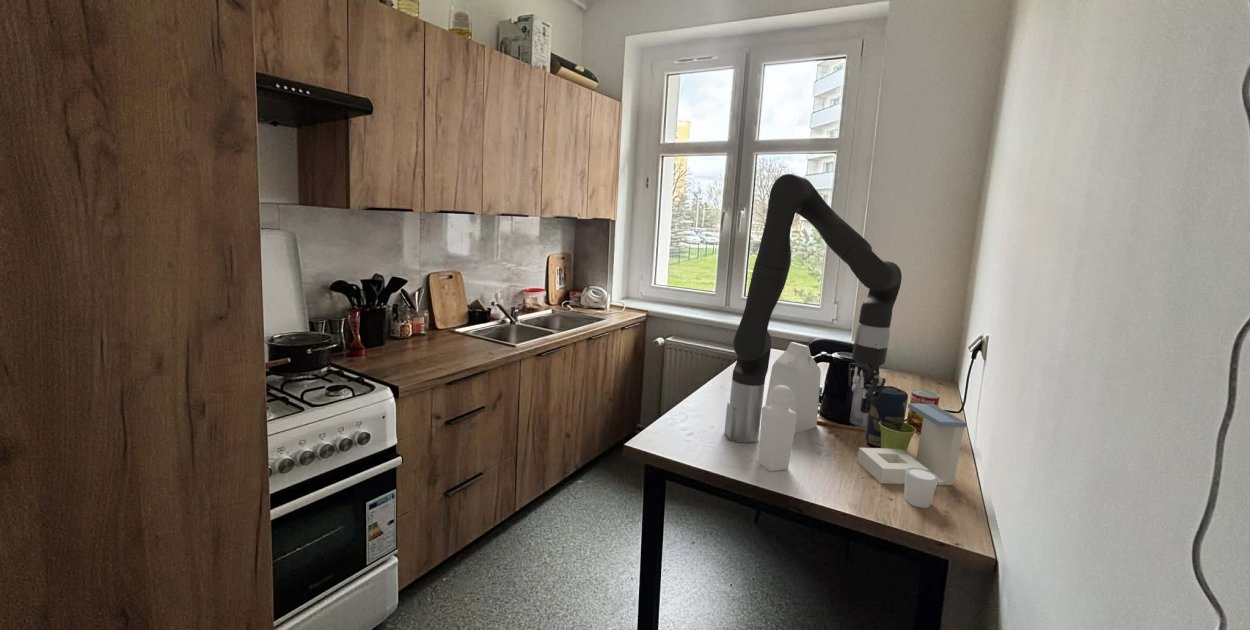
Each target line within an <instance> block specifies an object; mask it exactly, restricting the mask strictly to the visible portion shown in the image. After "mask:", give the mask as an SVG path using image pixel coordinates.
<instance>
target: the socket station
mask: <svg viewBox="0 0 1250 630" xmlns="http://www.w3.org/2000/svg"><path fill="white" fill-rule="evenodd" d="M907 408H908V409H909V408H910V409H911V410H913V411H915V412H916V413H918V414H919V415H921V416H923V417H924V418H923V424H922V429H921V433H920V437H919V441H918V446H917V451H916V452H917V453H916V458H914V457H912V456H911V455H910V454H909V453H907V452H905V451H903V450H902V449H886V448H881V447H858V453H857V460H856V463H858V464H859V465H860V466H862V468H863V469H864V470H866V471H867V472H868V473H869V474H870V475H871V476H873V478H874V479H875V480H877V482H879V483H880V484H889V485H890V484H891V485H892V484H893V485H894V484H895V485H897V484H898V485H905V473H906V469H907V468H920V469H924V470H927V471H930V472H932V473H934V474H935V475H937V477H938V483H937V486H938V485H939V486H954V483H955V482H954V481H955V477H956V472H957V467H958V461H959V456H960V452H961V447H962V440H963V436H964V431H965V428H966V427H967V421H964V420H963V419H960V418H959V417H958V416H955V415H954V414H951V413H950V412H948V411H946V410H945V409H942V408H941V407H940V406H938V407H937V406H936V405H934V404H916V403H910V402H908V403H907Z"/></svg>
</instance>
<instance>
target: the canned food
mask: <svg viewBox="0 0 1250 630" xmlns="http://www.w3.org/2000/svg"><path fill="white" fill-rule="evenodd" d="M939 402H940V395H939V394H938V393H936V392H932V391H929V390H924V389H912V390H911V393H910V399H909V403H916V404H934V405H936V406H937V407H939ZM923 418H924V417H923V416H921V415H919V414H918V413H916V412H915V411H913V410H911V409H910V408H908V411H907V417H906V422H905V423H906V424H909V425H911V426H913V427H914V428H916V432H915V433H918V432H919V434H921V429H922V424H923Z"/></svg>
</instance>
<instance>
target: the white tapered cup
mask: <svg viewBox="0 0 1250 630" xmlns="http://www.w3.org/2000/svg"><path fill="white" fill-rule="evenodd" d="M937 483H938V477H937V475H935V474H934V473H932V472H930V471H927V470H924V469H920V468H907V469H906V473H905V484H904V490H903V491H904V492H903V500H904V501H905V502H907V503H908V504H910V505H911V506H914V507H918V508H922V509H925V508H930V507H931V505H932V502H933V498H934V496H935V495H934V494H935V492H936V489H937V486H938V485H937Z"/></svg>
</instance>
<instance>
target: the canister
mask: <svg viewBox="0 0 1250 630" xmlns="http://www.w3.org/2000/svg"><path fill="white" fill-rule="evenodd" d="M875 393H876V392H875ZM908 401H909V395H908V392H907V391H905V390H903V389H901V388H898V387H895V386H891V385H884V387H883V389H882V392H881V394H880V397H879V399H873V400H872V404H871V410H870V413H869V414H868V420H867V425H866V430H865V431H866V432H865V434H864V435H865V436H864V438H865V440H866V442H867V443H869V444H871V445H873V446H875V447H876V448H881V429H880V425H879V421H882V426H884V427H886V428H889V429H892V430H895V431H900V429H901V426H902V423H905V418H906V413H907V408H908Z"/></svg>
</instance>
